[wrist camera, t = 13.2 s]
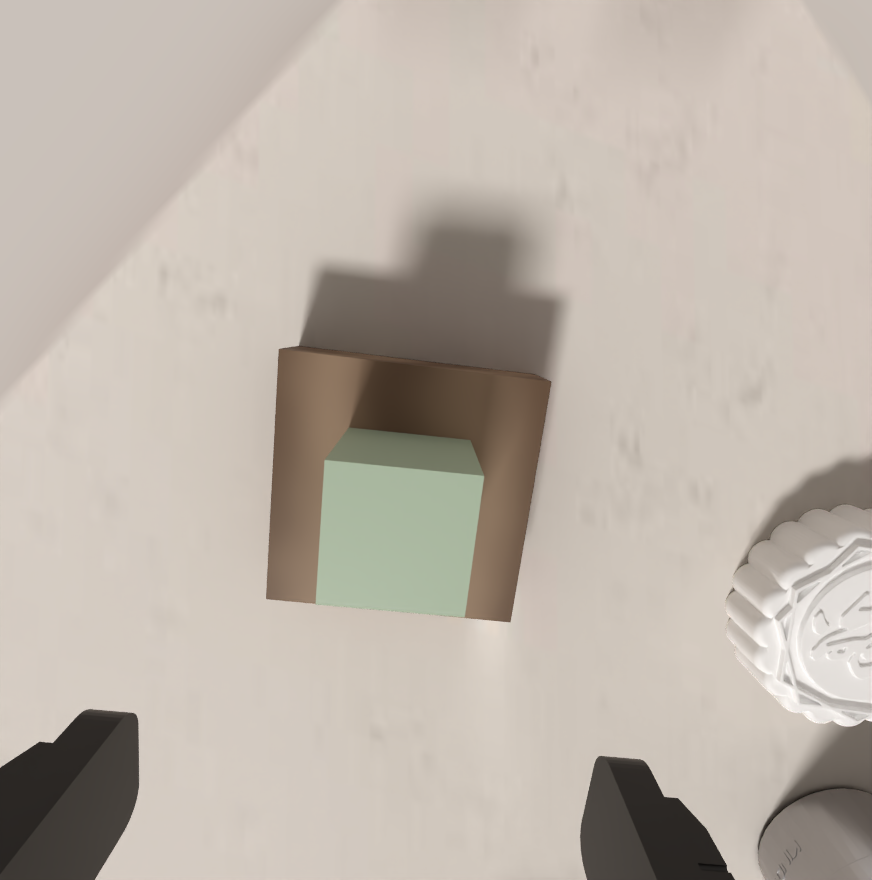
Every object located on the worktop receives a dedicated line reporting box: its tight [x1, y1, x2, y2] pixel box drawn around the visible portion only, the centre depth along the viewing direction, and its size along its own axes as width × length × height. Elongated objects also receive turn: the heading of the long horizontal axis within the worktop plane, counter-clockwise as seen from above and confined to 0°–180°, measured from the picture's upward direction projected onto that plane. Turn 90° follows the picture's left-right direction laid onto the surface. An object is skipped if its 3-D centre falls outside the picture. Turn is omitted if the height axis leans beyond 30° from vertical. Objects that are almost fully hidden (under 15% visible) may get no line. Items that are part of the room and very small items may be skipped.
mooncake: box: [725, 504, 872, 727], centre depth 27 cm, size 12×12×4 cm
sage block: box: [316, 428, 484, 618], centre depth 20 cm, size 6×6×6 cm
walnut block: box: [266, 346, 551, 622], centre depth 25 cm, size 12×12×4 cm
